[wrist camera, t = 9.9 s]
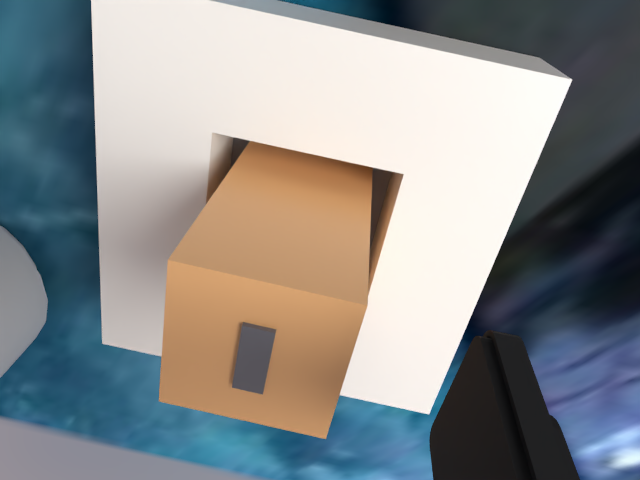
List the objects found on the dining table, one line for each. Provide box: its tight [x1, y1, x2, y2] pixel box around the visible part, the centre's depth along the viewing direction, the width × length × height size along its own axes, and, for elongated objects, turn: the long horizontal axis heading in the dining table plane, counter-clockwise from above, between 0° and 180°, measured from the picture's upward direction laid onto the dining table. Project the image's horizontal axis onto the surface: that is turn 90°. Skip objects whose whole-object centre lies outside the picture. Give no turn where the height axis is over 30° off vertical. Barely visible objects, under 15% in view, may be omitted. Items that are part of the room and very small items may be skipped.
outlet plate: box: [91, 0, 572, 414], centre depth 17 cm, size 12×12×3 cm
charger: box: [159, 141, 373, 439], centre depth 14 cm, size 4×4×8 cm
